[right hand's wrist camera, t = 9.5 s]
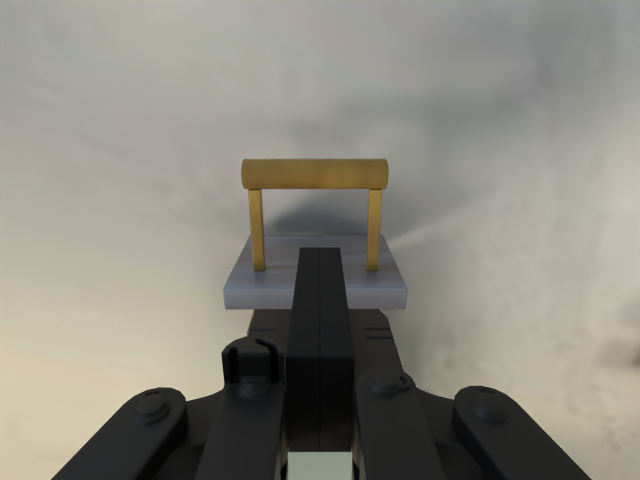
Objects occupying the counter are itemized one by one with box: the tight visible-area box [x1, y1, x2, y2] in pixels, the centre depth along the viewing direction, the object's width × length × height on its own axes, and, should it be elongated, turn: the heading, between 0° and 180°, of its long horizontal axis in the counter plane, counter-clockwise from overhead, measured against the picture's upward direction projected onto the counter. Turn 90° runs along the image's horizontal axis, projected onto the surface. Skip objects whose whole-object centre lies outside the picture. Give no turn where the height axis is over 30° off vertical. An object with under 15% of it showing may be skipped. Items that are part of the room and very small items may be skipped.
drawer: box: [223, 159, 407, 336], centre depth 25 cm, size 26×9×8 cm, turn 0°
